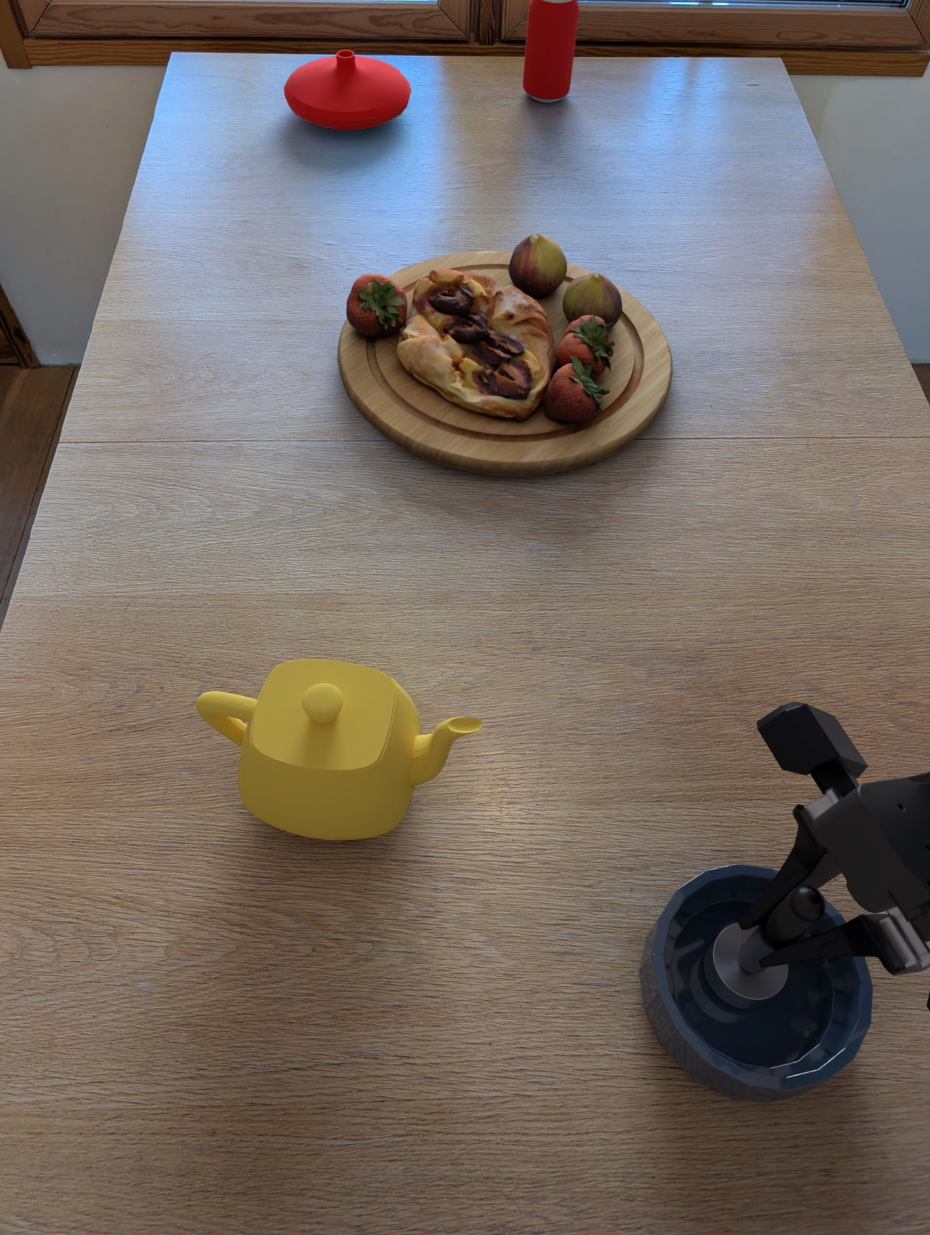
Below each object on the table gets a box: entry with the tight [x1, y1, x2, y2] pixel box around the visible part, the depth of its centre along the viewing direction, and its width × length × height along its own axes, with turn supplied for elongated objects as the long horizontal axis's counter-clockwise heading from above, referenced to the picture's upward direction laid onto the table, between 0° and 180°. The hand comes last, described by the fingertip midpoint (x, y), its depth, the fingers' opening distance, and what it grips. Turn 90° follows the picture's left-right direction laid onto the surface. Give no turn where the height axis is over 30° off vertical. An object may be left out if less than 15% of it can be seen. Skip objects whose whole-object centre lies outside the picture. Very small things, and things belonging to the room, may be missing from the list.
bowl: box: [638, 863, 874, 1104], centre depth 55 cm, size 12×13×5 cm
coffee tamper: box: [704, 885, 826, 1009], centre depth 51 cm, size 4×4×13 cm
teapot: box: [195, 658, 483, 841], centre depth 60 cm, size 18×11×11 cm, turn 82°
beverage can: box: [522, 0, 580, 104], centre depth 118 cm, size 6×6×12 cm
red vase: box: [283, 49, 412, 131], centre depth 115 cm, size 16×16×7 cm
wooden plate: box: [337, 233, 674, 477], centre depth 88 cm, size 32×32×8 cm
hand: (752, 945), depth 51 cm, fingers closed on coffee tamper, 2 cm apart
